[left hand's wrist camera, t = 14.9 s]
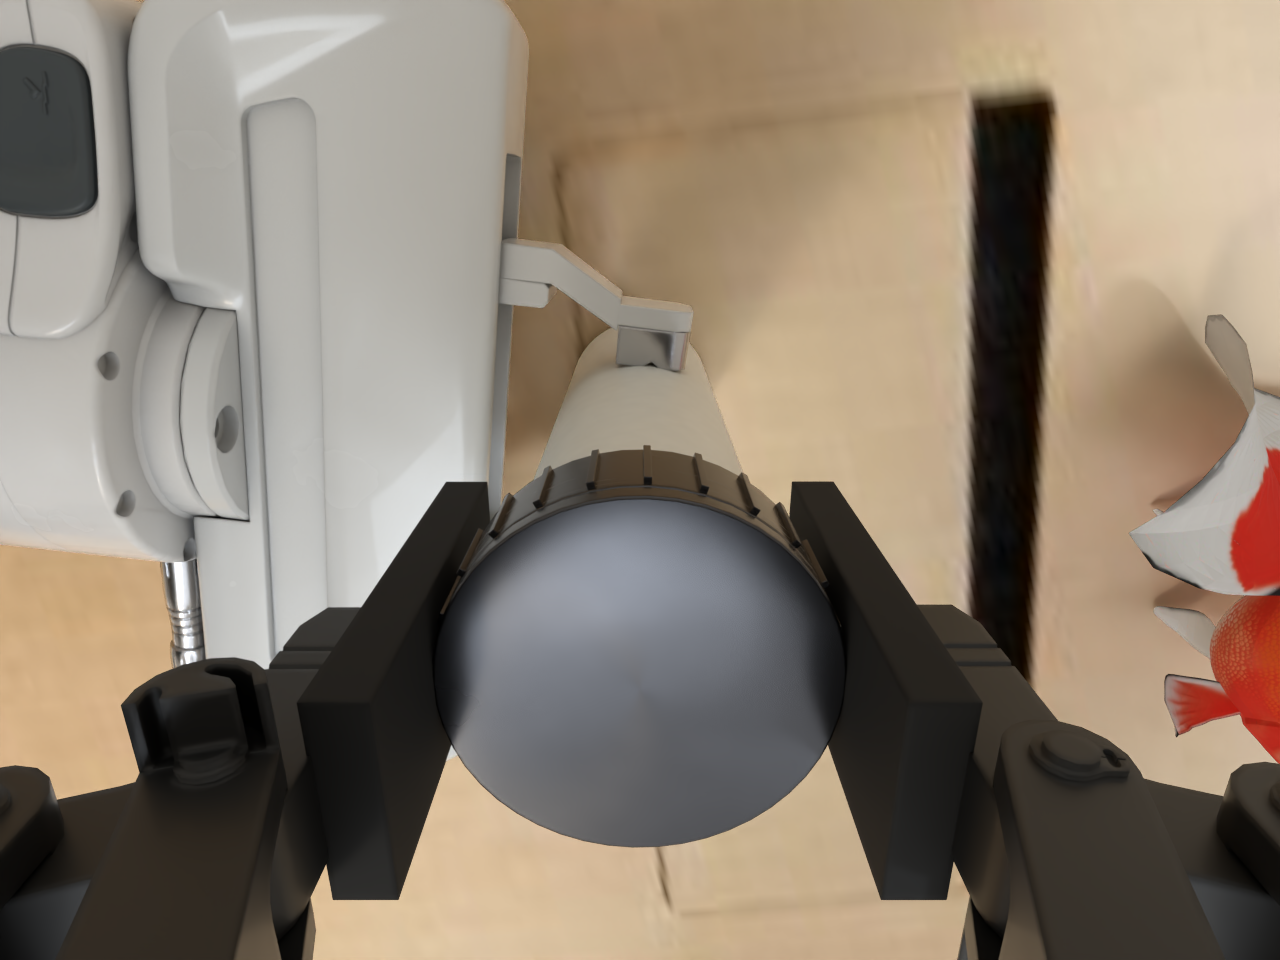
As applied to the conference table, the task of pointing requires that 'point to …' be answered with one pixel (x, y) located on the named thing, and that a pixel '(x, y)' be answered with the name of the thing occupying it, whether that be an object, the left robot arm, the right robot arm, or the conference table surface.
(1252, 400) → the fish
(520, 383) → the conference table surface
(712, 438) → the jar
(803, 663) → the lid
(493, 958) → the conference table surface
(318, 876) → the left robot arm
